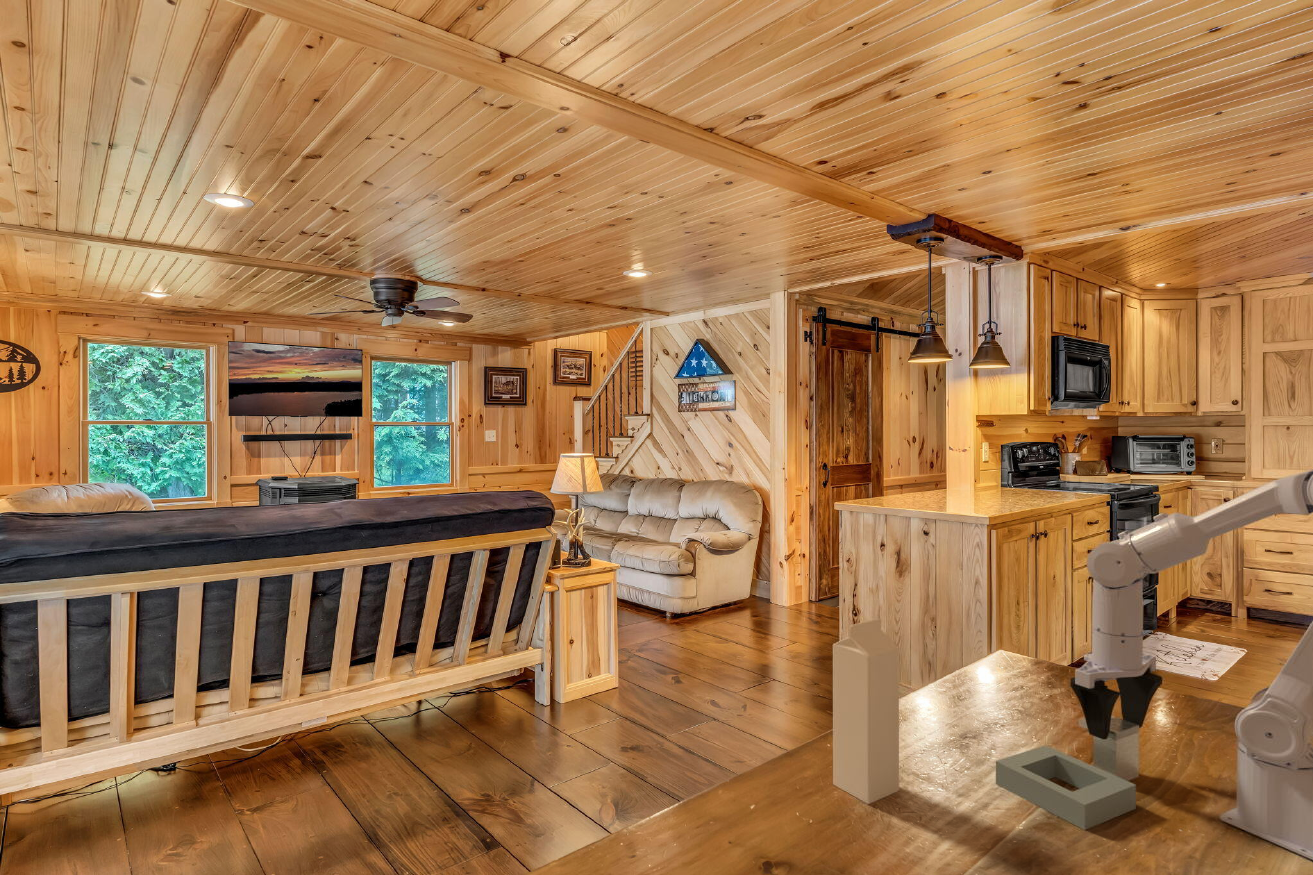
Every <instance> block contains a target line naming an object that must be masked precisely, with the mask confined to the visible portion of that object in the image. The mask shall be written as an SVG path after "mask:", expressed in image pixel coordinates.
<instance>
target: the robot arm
mask: <svg viewBox="0 0 1313 875" xmlns="http://www.w3.org/2000/svg"><path fill="white" fill-rule="evenodd" d="M1277 514H1289V515H1291V514H1292V515H1299V516H1300V515H1302V516H1310V515H1311V514H1313V469H1310V470H1307V471H1303V472H1299V473H1295V474H1292V475H1288V476H1284V477H1281V478H1278V479H1275V480H1272V481H1269V482H1268V483H1265V484H1263V485H1260V486H1259V487H1257V488H1254V489H1251V490H1250V491H1248V492H1246V493H1243V494H1241V495H1239V496H1237V497H1235V498H1232V499H1230V500H1228V501H1226V502H1224V503H1222V504H1220V505H1219V504H1218V506H1216V507H1213V508H1211V509H1208V510H1207V511H1204V512H1202V513H1200V514H1198V515H1196V516H1192V515H1188V514H1185V513H1181V512H1174V513H1171V514H1170V515H1169V514H1168V513H1167V512H1163V513H1159V514H1158V515H1154V516H1153V517H1152V518H1153V520H1154V521H1153V522H1150V523H1149V524H1147V525H1145V526H1142V527H1140V528H1138V529H1135V530H1133V531H1131V532H1129V531H1128V530H1124V531H1122V532H1119V533H1118V534H1117V537H1118V538H1119V539H1116V540H1112V541H1108V542H1101V543H1099V544H1098V546H1096V547H1095V548H1094V549H1092V550H1091V551H1090V552H1089V554H1088V555H1087V559H1086V567H1087V568H1086V569H1087V571H1088V573H1089V574H1090V577H1091V578H1092V579H1093V581H1092V582H1093V584H1092V586H1093V587H1092V591H1093V592H1092V605H1091V606H1092V609H1091V610H1092V612H1091V615H1092V618H1091V619H1092V620H1091V621H1092V622H1091V632H1092V633H1091V636H1092V637H1091V653H1087V654H1084V657H1083V660H1084V661H1085V663H1084V664H1083V665H1082V666H1081V667H1079V668H1075V670H1074V671H1075V672H1074V674H1075V676H1074V677H1071V678H1070V680H1069V681H1070V682H1069V683H1070V684H1069V686H1070V688H1071V689H1072V691H1073V692H1074V694H1075V695H1076V698H1077V700H1078V702H1079V703H1080V706H1081V709H1082V713H1083V716H1084V717H1085V720H1086V724H1087V727H1088V729H1087V730H1088V733H1089V734H1088V735H1090V736H1093V737H1094V736H1096V737H1098V738H1101V739H1103V740H1105V739H1107V738H1108V735H1109V731H1110V723H1111V715H1112V714H1113V710H1114V707H1115V705H1116V703H1117V701H1118V698H1119V697H1120V709H1121V716H1122V717H1121V719H1123V720H1126V721H1128V722H1131V723H1134V724H1137V725H1139V729H1140V728H1142V727H1143V725H1144V721H1145V719H1146V715H1147V712H1148V709H1149V706H1150V703H1151V702H1152V699H1153V697H1154V695H1155V694H1156V692H1157V690H1158V689H1159V688H1160V687H1161V685H1162V684H1163V677H1162V676H1161V675H1158V674H1156V673H1152V672H1155V671H1156V670H1157V657H1156V655H1152V654H1151V655H1150V654H1148V653H1144V652H1143V648H1144V647H1143V644H1144V639H1143V638H1144V597H1143V594H1144V593H1143V591H1144V587H1143V585H1144V584H1143V582H1144V580H1143V579H1144V578H1145V577H1146V576H1148V575H1149V574H1157V573H1159V572H1163V571H1164V570H1168V569H1170V568H1173V567H1175V566H1177V565H1180V564H1183V563H1185V562H1189V561H1190V560H1192V559H1193V560H1194V559H1195V558H1197V557H1200V556H1203V555H1205V554H1206V553H1207V551H1208V547H1209V544H1210V541H1211V540H1212V539H1213V538H1214V539H1215V538H1216V537H1219V536H1222V535H1224V534H1226V533H1229V532H1232V531H1235V530H1237V529H1241V528H1243V527H1245V526H1248V525H1250V524H1253V523H1255V522H1256V523H1257V522H1259V521H1261V520H1264V519H1266V518H1269V517H1270V518H1271V517H1273V516H1274V515H1277ZM1111 680H1116V684H1117V687H1118V690H1113V689H1111V688H1108V685H1106V682H1107V681H1111ZM1112 716H1113V715H1112ZM1234 730H1235V735H1236V737H1237V742H1236V743H1237V744H1236V745H1237V751H1236V753H1237V756H1236V758H1237V759H1236V761H1237V762H1236V763H1237V764H1236V806H1235V808H1232V809H1230V810H1228V811H1226V812H1223V813H1222V814H1220V815H1219V819H1220V820H1221V821H1222V822H1225V823H1228V824H1229V825H1231V826H1234V827H1235V828H1238V829H1241V830H1244V831H1245V832H1247V833H1250V834H1252V835H1255V836H1257V837H1259V838H1261V839H1263V840H1265V841H1266V840H1267V841H1268V842H1270V843H1273V844H1275V845H1278V846H1280V847H1282V848H1284V849H1287V850H1289V851H1291V852H1294V853H1295V854H1297V855H1300V856H1303V857H1305V858H1307V859H1310V860H1311V861H1313V745H1312V744H1311V743H1310V742H1311V739H1312V737H1313V620H1312V621H1311V623H1310V624H1309V626H1308V628H1307V630H1306V631H1305V632H1304V634H1303V636H1301V639H1300V640H1299V642H1298V643H1297V644H1296V646H1295V648H1294V650H1293V651H1292V653H1291V654H1290V655H1289V657H1288V659H1287V660H1286V662H1285V664H1284V665H1283V666H1282V668H1281V670H1280V671H1279V673H1278V674H1277V675H1276V677H1275V678H1274V679H1273V681H1272V683H1271V684H1270V685H1269V686H1267V687H1264V688H1262V689H1260V690H1258V691H1257V692H1256V693H1255V694H1254V695H1253V697H1252V698H1251V702H1249V704H1248V705H1247V706H1246V707H1245V708H1243V709H1242V710H1241V711H1240V712H1239V713H1237V716H1236V718H1235V721H1234Z"/></svg>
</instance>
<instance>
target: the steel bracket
mask: <svg viewBox="0 0 1313 875" xmlns="http://www.w3.org/2000/svg"><path fill="white" fill-rule="evenodd" d="M1078 727H1081V728H1084V729H1086V730H1088V727H1087V724H1086V720H1085V716H1084V717H1080V718H1078ZM1092 742H1093V745H1092V749H1093V750H1092V751H1093V758H1092V759H1093V762H1092V763H1093V765H1092V766H1094V767H1097V768H1099V769H1101V770H1103V771H1106V772H1108V773H1110V774H1112V775H1115V776H1117V777H1119V778H1122V779H1124V780H1126V781H1128V782H1130V781H1131V780H1135V779H1137V778H1139V777H1140V776H1139V773H1140V771H1139V770H1140V769H1139V768H1140V766H1139V765H1140V728H1139V725H1137V724H1134V723H1131V722H1128V721H1126V720H1123V718H1120V717H1117V716H1115V715H1111V723H1110V731H1109V735H1108V738H1107V739H1105V740H1103V739H1101V738H1098V737H1096V736H1093V741H1092Z"/></svg>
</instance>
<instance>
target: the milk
mask: <svg viewBox="0 0 1313 875" xmlns="http://www.w3.org/2000/svg"><path fill="white" fill-rule="evenodd" d="M899 648H900V647H898V645H897V644H896V643H895V642H894V641H893V640H892V639H891V638H890V637H889V636H888V635H887V634H886V633H885V632H884V630H882V620H881V618H874V619H872V620H867V621H862V622H859V623H854V624H851V625H850V626H849V637H846V638H844V639H841V640H839V641H837V642H835V643H833V644H832V724H833V725H832V760H833V761H832V765H833V766H832V768H833V770H832V775H833V776H832V777H833V778H832V780H833V782H832V784H833V785H834V786H835V787H837V788H838V789H840V790H843V791H844V792H846V793H847V794H848V795H851V796H852V797H853V798H856V799H858V800H860V801H861V802H863V803H865V804H867V805H870V804H873V803H874V802H877V801H879V800H881V799H883V798H886V797H888V796H890V795H894V794H895V793H897V792H899V791H900V728H899V727H900V649H899Z"/></svg>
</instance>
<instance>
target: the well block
mask: <svg viewBox="0 0 1313 875" xmlns="http://www.w3.org/2000/svg"><path fill="white" fill-rule="evenodd" d="M1053 778H1056V779H1059V780H1061V781H1063V782H1065V783H1067V784H1069V785H1071V786H1073V787H1075V788H1077V789H1076V790H1074V791H1071V790H1069V789H1067V788H1065V787H1063V786H1061V785H1059V784H1057V783H1055V782H1053V781H1051V779H1053ZM995 784H996V785H998V786H1000V787H1001V788H1004V789H1006V790H1007V791H1009V792H1011V793H1013V794H1015V795H1017V796H1019V797H1021V798H1023V799H1024V800H1026V801H1029V802H1030V803H1032V804H1034V805H1035V806H1038V807H1039V808H1042V809H1044V810H1045V811H1048V812H1050V813H1051V814H1053V815H1055V816H1057V817H1059V818H1060V819H1062V820H1064V821H1066V822H1068V823H1071V824H1072V825H1073V826H1075V827H1078V828H1079V829H1082V830H1084V831H1086V830H1088V829H1091V828H1093V827H1095V826H1098V825H1101V824H1102V823H1105V822H1107V821H1109V820H1112V819H1115V818H1117V817H1119V816H1121V815H1124V814H1126V813H1129V812H1131V811H1133V810H1136V809H1137V808H1136V806H1137V804H1136V802H1137V796H1136V795H1137V785H1136V784H1135V783H1133V782H1130V781H1126V780H1124V779H1122V778H1119V777H1117V776H1115V775H1112V774H1110V773H1108V772H1106V771H1103V770H1101V769H1099V768H1097V767H1094V766H1093V765H1092V764H1089V763H1088V762H1085V761H1083V760H1080V759H1078V758H1075V757H1073V756H1071V755H1069V754H1067V753H1065V752H1062V751H1060V750H1057V749H1055V748H1052V747H1051V746H1048V745H1045V744H1044V745H1042V746H1038V747H1035V748H1032V749H1029V750H1026V751H1022V752H1019V753H1017V754H1014V755H1013V754H1012V755H1010V756H1007V757H1004V758H1001V759H998V760H995Z"/></svg>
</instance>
